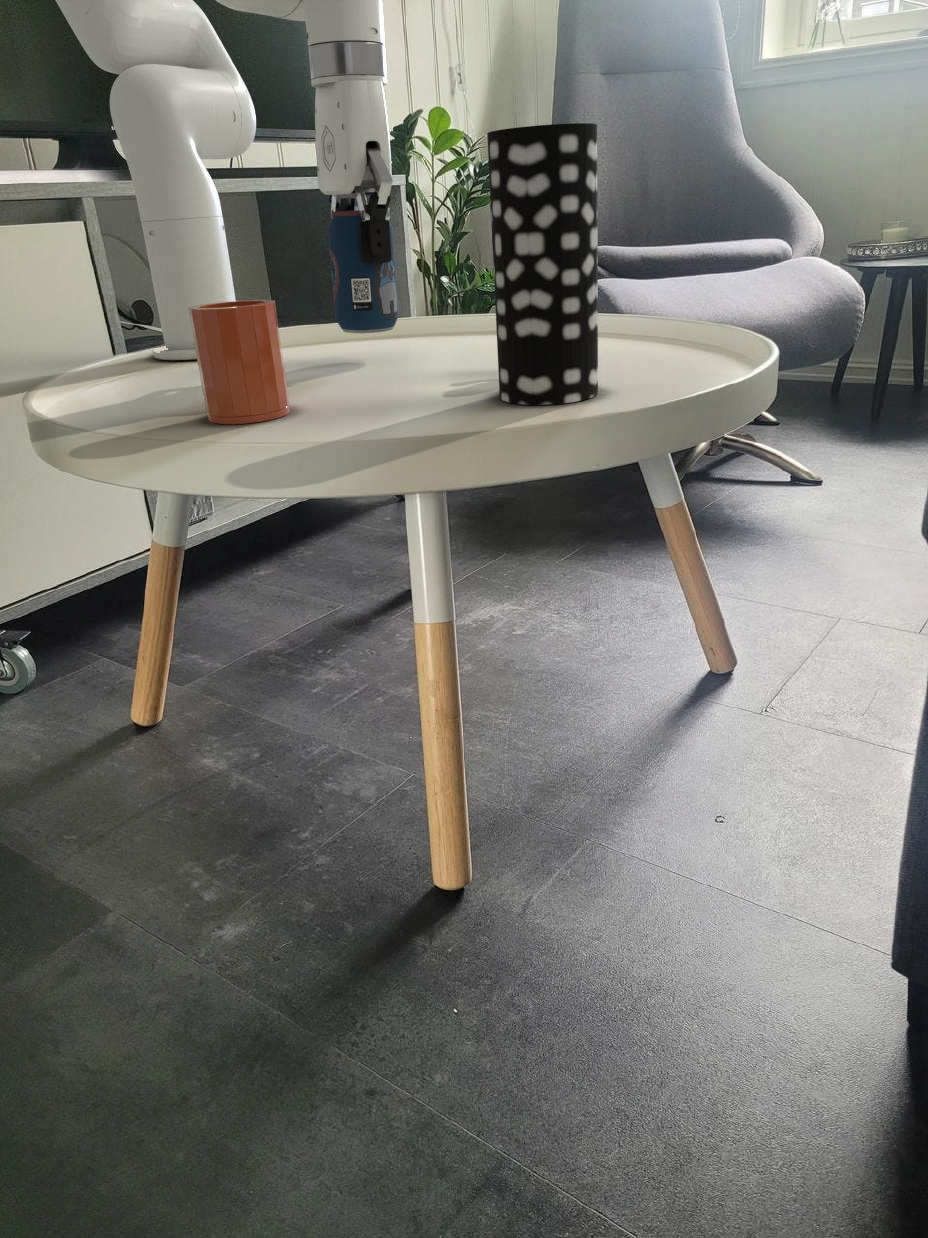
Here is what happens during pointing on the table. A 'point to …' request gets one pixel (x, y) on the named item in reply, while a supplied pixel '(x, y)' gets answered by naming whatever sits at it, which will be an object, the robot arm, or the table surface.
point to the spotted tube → (545, 261)
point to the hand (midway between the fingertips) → (362, 259)
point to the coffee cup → (240, 361)
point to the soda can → (360, 280)
